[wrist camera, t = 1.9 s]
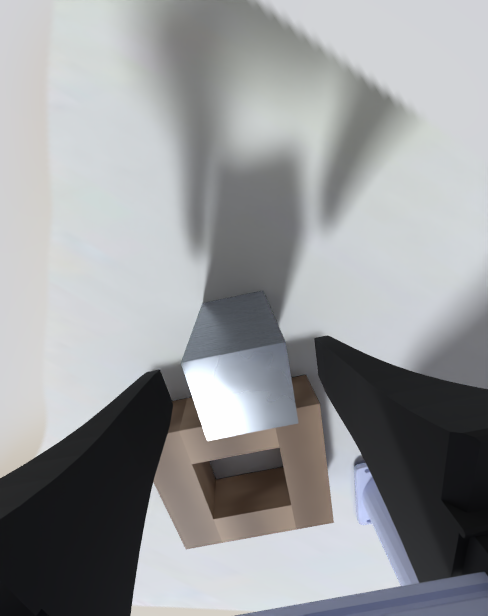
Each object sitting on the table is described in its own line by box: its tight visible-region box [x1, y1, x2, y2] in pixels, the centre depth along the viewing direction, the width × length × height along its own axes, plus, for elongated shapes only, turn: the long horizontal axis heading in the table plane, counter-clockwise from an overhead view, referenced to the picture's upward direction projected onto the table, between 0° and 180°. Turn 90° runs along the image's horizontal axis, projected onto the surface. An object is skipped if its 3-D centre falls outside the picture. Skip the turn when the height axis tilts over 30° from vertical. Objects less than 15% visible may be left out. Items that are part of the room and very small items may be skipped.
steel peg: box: [181, 291, 298, 441], centre depth 13 cm, size 4×4×7 cm
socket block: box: [153, 375, 334, 549], centre depth 19 cm, size 12×12×3 cm
